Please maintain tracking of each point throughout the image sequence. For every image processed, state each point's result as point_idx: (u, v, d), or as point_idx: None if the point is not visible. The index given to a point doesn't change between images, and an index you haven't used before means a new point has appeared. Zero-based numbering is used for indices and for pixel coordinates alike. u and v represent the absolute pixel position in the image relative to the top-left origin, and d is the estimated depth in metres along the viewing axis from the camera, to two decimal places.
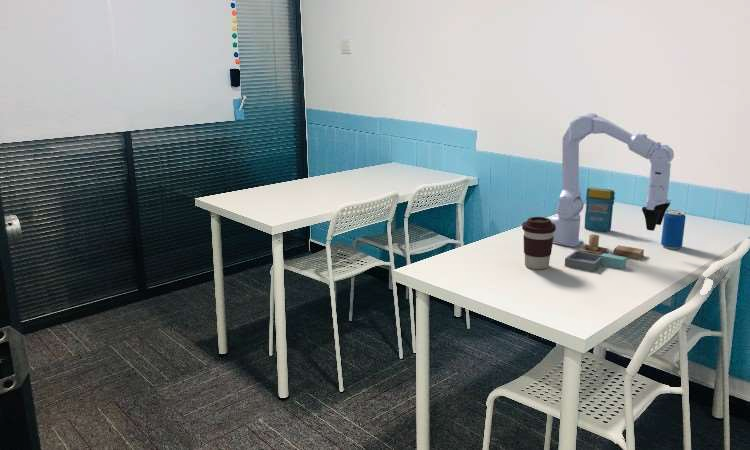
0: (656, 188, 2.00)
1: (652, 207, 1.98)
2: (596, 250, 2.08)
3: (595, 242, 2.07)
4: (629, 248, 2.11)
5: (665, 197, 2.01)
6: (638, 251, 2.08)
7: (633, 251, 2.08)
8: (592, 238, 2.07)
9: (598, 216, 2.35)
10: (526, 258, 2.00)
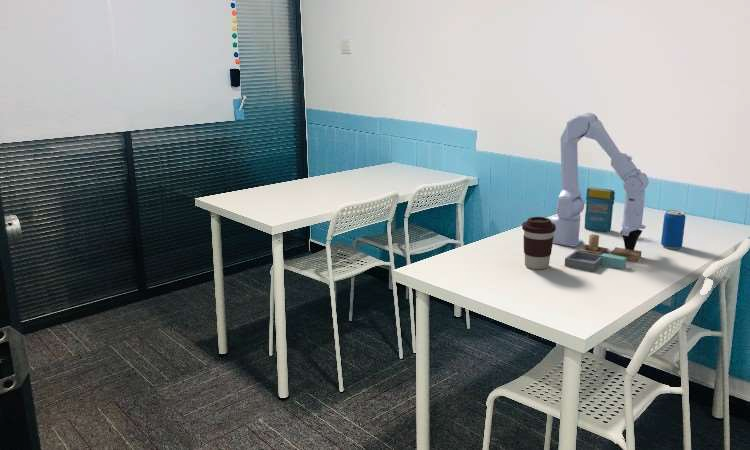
0: (631, 214, 2.05)
1: (627, 233, 2.03)
2: (596, 250, 2.08)
3: (595, 242, 2.07)
4: (627, 250, 2.09)
5: (640, 223, 2.06)
6: (637, 253, 2.06)
7: (631, 253, 2.06)
8: (592, 238, 2.07)
9: (598, 216, 2.35)
10: (526, 258, 2.00)
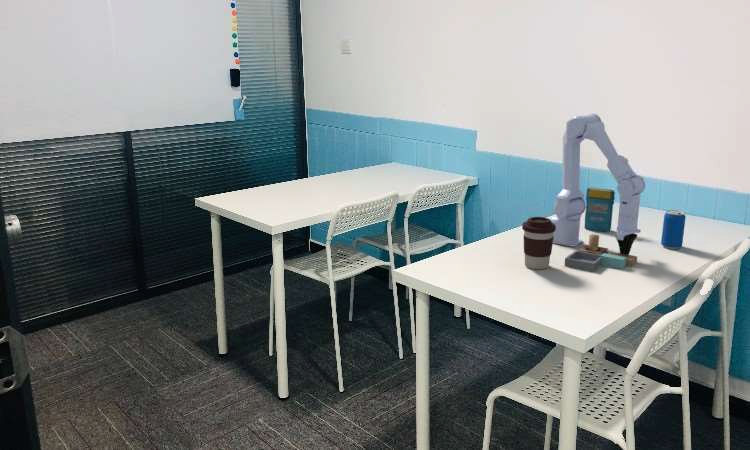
0: (626, 218, 2.01)
1: (621, 237, 1.99)
2: (596, 250, 2.08)
3: (595, 242, 2.07)
4: (622, 255, 2.05)
5: (635, 227, 2.02)
6: (632, 258, 2.02)
7: (626, 258, 2.02)
8: (592, 238, 2.07)
9: (598, 216, 2.35)
10: (526, 258, 2.00)
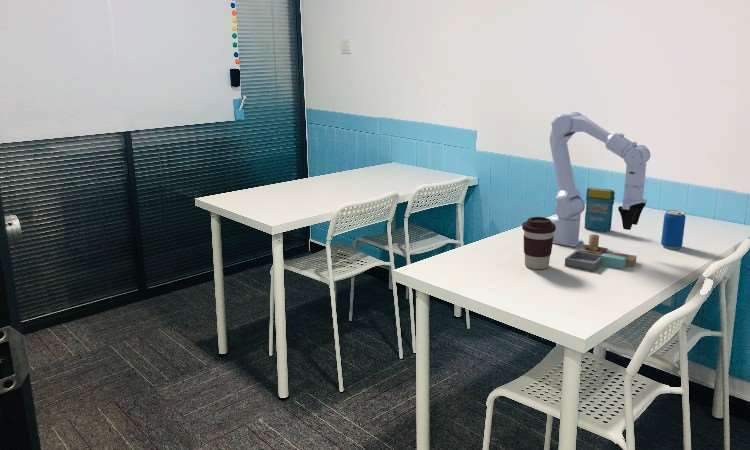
0: (632, 188, 2.01)
1: (627, 207, 1.99)
2: (596, 250, 2.08)
3: (595, 242, 2.07)
4: (622, 255, 2.04)
5: (641, 197, 2.02)
6: (632, 258, 2.02)
7: (627, 258, 2.02)
8: (592, 238, 2.07)
9: (598, 216, 2.35)
10: (526, 258, 2.00)
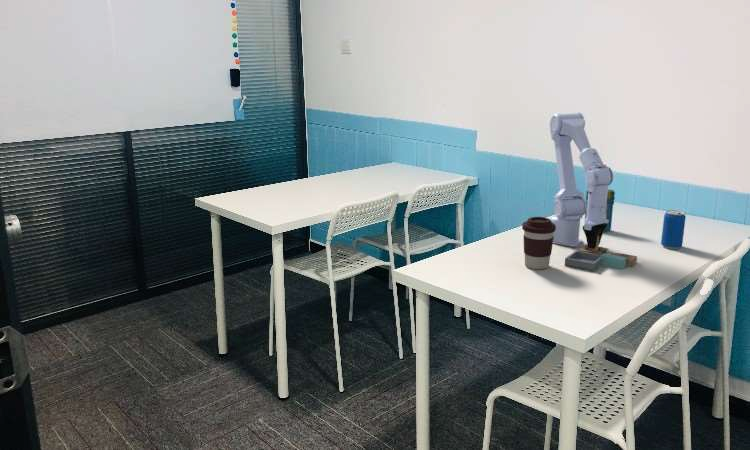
0: (594, 208, 2.03)
1: (589, 227, 2.01)
2: (596, 250, 2.08)
3: None
4: (622, 255, 2.04)
5: (603, 217, 2.04)
6: (632, 258, 2.02)
7: (626, 258, 2.02)
8: None
9: None
10: (526, 258, 2.00)
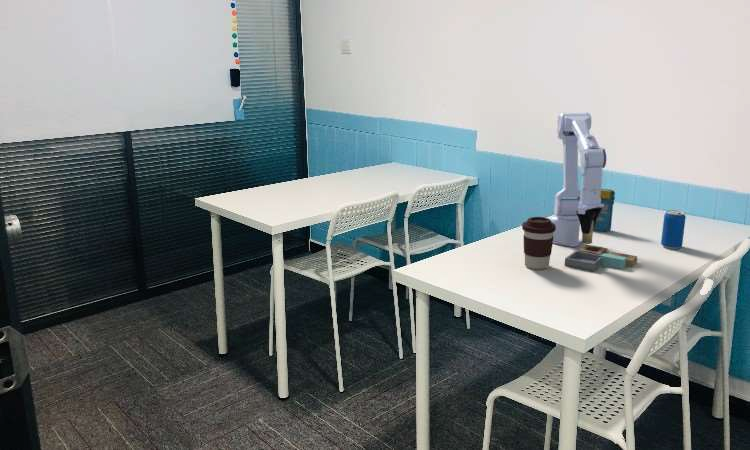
0: (588, 192, 1.94)
1: (583, 211, 1.92)
2: (590, 236, 1.99)
3: None
4: (622, 255, 2.04)
5: (597, 201, 1.95)
6: (631, 258, 2.02)
7: (626, 258, 2.02)
8: None
9: (598, 216, 2.35)
10: (526, 258, 2.00)
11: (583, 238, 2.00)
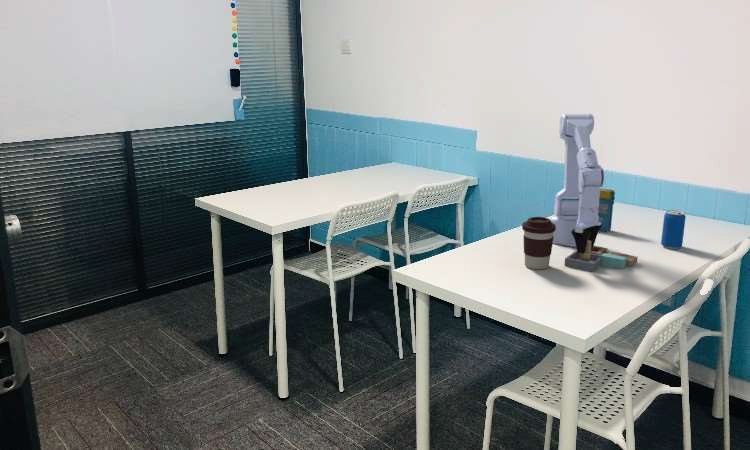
0: (585, 210, 1.96)
1: (581, 230, 1.93)
2: (588, 256, 2.01)
3: (587, 248, 2.00)
4: (622, 255, 2.04)
5: (595, 219, 1.96)
6: (631, 258, 2.01)
7: None
8: None
9: None
10: (526, 258, 2.00)
11: (581, 258, 2.02)
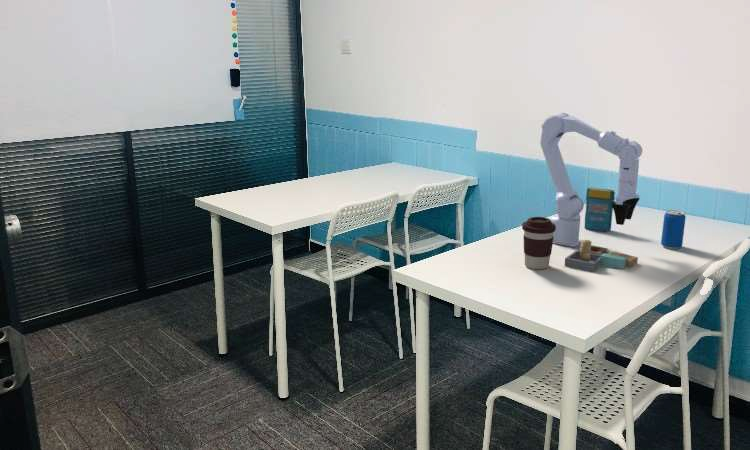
0: (625, 183, 2.05)
1: (621, 202, 2.03)
2: (588, 256, 2.01)
3: (587, 248, 2.00)
4: (623, 255, 2.04)
5: (634, 192, 2.06)
6: (630, 258, 2.01)
7: None
8: (584, 244, 2.00)
9: (598, 216, 2.35)
10: (526, 258, 2.00)
11: (581, 258, 2.02)
